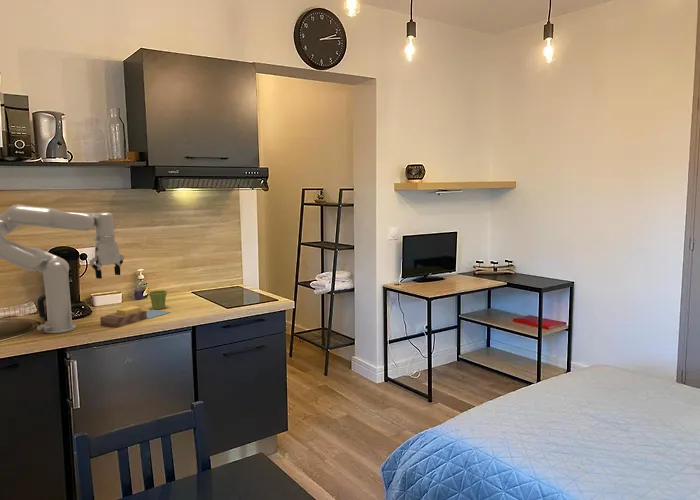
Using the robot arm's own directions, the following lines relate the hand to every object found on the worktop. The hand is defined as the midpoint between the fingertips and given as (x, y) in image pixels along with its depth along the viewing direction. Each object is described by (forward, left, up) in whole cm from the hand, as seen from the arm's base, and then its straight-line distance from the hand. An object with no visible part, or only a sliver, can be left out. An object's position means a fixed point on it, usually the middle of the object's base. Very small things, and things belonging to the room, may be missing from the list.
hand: (108, 276), depth 243 cm
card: (+9, -2, -19) cm, 21 cm away
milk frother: (-6, +27, -23) cm, 36 cm away
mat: (+22, -2, -23) cm, 32 cm away
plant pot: (+34, +5, -23) cm, 41 cm away
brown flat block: (+6, -2, -23) cm, 23 cm away
